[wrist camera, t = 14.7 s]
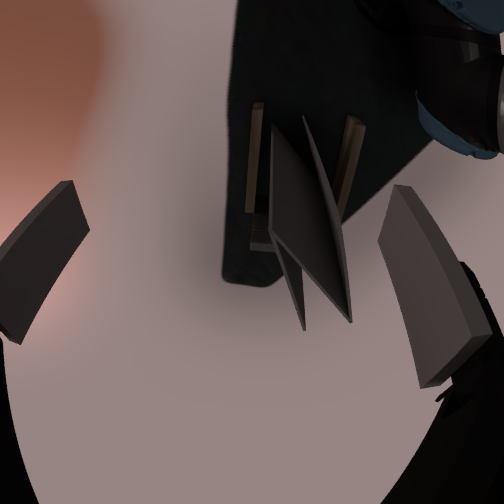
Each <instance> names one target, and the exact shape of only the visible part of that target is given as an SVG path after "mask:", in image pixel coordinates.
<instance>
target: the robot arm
mask: <svg viewBox="0 0 504 504" xmlns="http://www.w3.org/2000/svg"><path fill="white" fill-rule="evenodd" d="M354 2H355V4H356V6H357V7H358V9H359V10H360V12H361V13H362V14H363V15H364V17H365V18H366V19H367V20H368V21H370V22H371V23H372V24H373V25H375V26H376V27H378V28H379V29H381V30H383V31H385V32H387V33H390V34H393V35H397V36H404V37H411V39H412V46H413V54H414V62H415V72H416V83H417V90H416V93H415V94H416V99H417V102H418V112H419V120H420V122H421V124H422V126H423V128H424V130H425V131H426V132H427V133H428V134H429V135H430V136H431V137H432V138H433V139H435V140H436V141H438V142H439V143H441V144H442V145H444V146H446V147H448V148H449V149H451V150H453V151H456V152H458V153H460V154H463V155H466V156H468V155H472V156H473V157H475V158H478V159H483V160H486V159H487V160H488V159H492V158H494V157H496V156H497V155H498V153H499V152H500V153H502V154H504V55H502V53H501V45H500V35H499V34H500V33H502V32H504V0H354ZM89 231H90V229H89V226H88V224H87V221H86V218H85V215H84V213H83V210H82V207H81V204H80V201H79V198H78V195H77V192H76V189H75V186H74V183H73V180H70V181H61V182H60V183H59V184H57V185H56V186H55V187H54V188H53V189H52V190H51V191H50V192H49V193H48V194H47V195H46V196H45V197H44V198H43V199H42V200H41V201H40V202H39V203H38V204H37V205H36V206H35V207H34V208H33V209H32V210H31V212H30V213H29V214H28V215H27V216H26V217H25V218H24V219H23V220H22V221H21V222H20V224H19V225H18V226H17V227H16V228H15V229H14V230H13V232H12V233H11V234H10V235H9V236H8V238H7V239H6V240H5V241H4V242H3V244H2V245H1V246H0V331H1V332H2V333H3V334H4V335H5V336H6V337H7V338H8V339H9V340H10V341H12V342H14V343H17V344H19V345H21V344H22V341H23V339H24V337H25V335H26V333H27V331H28V329H29V327H30V325H31V324H32V322H33V320H34V318H35V316H36V314H37V312H38V311H39V309H40V307H41V305H42V304H43V302H44V300H45V298H46V297H47V295H48V293H49V291H50V290H51V288H52V286H53V285H54V283H55V282H56V280H57V278H58V277H59V275H60V273H61V272H62V270H63V269H64V267H65V266H66V264H67V263H68V261H69V260H70V258H71V257H72V255H73V254H74V252H75V251H76V249H77V248H78V246H79V245H80V244H81V242H82V241H83V239H84V238H85V236H86V235H87V234H88V232H89ZM378 243H379V246H380V249H381V252H382V255H383V257H384V260H385V263H386V266H387V268H388V271H389V274H390V277H391V280H392V283H393V286H394V289H395V292H396V295H397V299H398V302H399V305H400V309H401V312H402V315H403V319H404V323H405V326H406V330H407V333H408V337H409V341H410V345H411V348H412V353H413V357H414V361H415V366H416V371H417V375H418V380H419V384H420V389H422V388H429V387H434V386H440V385H441V384H442V383H443V382H445V381H446V380H447V379H448V378H449V377H450V376H451V379H452V383H453V385H451V386H450V387H449V388H448V389H447V390H445V391H444V392H443V393H442V394H440V395H439V396H438V398H437V399H436V400H435V401H436V402H439V401H440V400H441V399H443V398H444V397H445V398H444V400H443V402H442V404H441V406H440V408H439V410H438V412H437V415H436V417H435V419H434V421H433V422H432V425H431V426H430V428H429V430H428V432H427V434H426V436H425V437H424V439H423V441H422V443H421V445H420V446H419V448H418V450H417V451H416V453H415V455H414V456H413V458H412V459H411V461H410V463H409V464H408V466H407V467H406V469H405V470H404V472H403V473H402V475H401V476H400V478H399V479H398V481H397V482H396V483H395V485H394V486H393V488H392V489H391V490H390V492H389V493H388V495H387V496H386V497H385V499H384V500H383V501H382V502H381V504H504V336H503V334H502V332H501V329H500V327H499V325H498V322H497V320H496V317H495V315H494V313H493V311H492V309H491V306H490V304H489V302H488V300H487V298H485V294H484V292H483V290H482V288H480V284H479V282H478V280H477V278H476V276H475V274H474V273H473V272H472V270H471V269H470V268H469V267H468V266H467V265H466V264H465V263H464V262H459V261H458V259H457V257H456V255H455V254H454V252H453V250H452V249H451V247H450V245H449V243H448V242H447V240H446V238H445V237H444V235H443V233H442V232H441V230H440V228H439V227H438V225H437V224H436V222H435V221H434V219H433V218H432V216H431V215H430V213H429V212H428V210H427V209H426V207H425V206H424V204H423V203H422V201H421V200H420V198H419V197H418V196H417V194H416V193H415V191H414V190H413V189H412V187H409V186H402V185H394V187H393V191H392V194H391V198H390V202H389V205H388V209H387V212H386V216H385V219H384V222H383V226H382V229H381V232H380V235H379V238H378ZM0 504H39V503H38V500H37V498H36V495H35V493H34V490H33V488H32V485H31V482H30V480H29V477H28V474H27V471H26V468H25V465H24V462H23V459H22V455H21V452H20V448H19V445H18V441H17V437H16V433H15V428H14V424H13V420H12V415H11V409H10V404H9V398H8V391H7V384H6V375H5V367H4V354H3V342H2V339H1V338H0Z"/></svg>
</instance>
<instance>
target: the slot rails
mask: <svg viewBox="0 0 504 504" xmlns="http://www.w3.org/2000/svg"><path fill="white" fill-rule="evenodd" d="M263 108H264V103H262V102H255V103H254V106H253V109H252V121H251V134H250V148H249V162H248V176H247V191H246V205H245V212H250V213H254V206H255V197H256V186H257V175H258V164H259V153H260V142H261V131H262V119H263ZM365 129H366V126H365V125H364V124H363V123H362V122H361V121H360V120H359V119H358V118H357V117H355V116H351V115H347V121H346V126H345V131H344V135H343V140H342V145H341V150H340V154H339V159H338V163H337V168H336V172H335V176H334V181H333V185H332V189H331V190H332V193H333V197H334V200H335V203H336V206H337V209H338V212H339V215H340V221H341V220H342V217H343V213H344V210H345V206H346V203H347V199H348V196H349V192H350V189H351V185H352V181H353V177H354V174H355V170H356V166H357V162H358V158H359V154H360V150H361V146H362V142H363V137H364V133H365Z"/></svg>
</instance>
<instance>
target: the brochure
mask: <svg viewBox="0 0 504 504" xmlns="http://www.w3.org/2000/svg"><path fill="white" fill-rule="evenodd" d="M302 118H303V122H304V125H305V129H306V133H307V136H308V140H309V144H310V148H311V152H312V156H313V160H314V164H315V168H316V173H317V177H318V181H319V183H318V181H317V180H316V179H315V177H314V176H313V174H312V173H311V172H310V170H309V169H308V167H307V166H306V165H305V163H304V162H303V161H302V159H301V158H300V157H299V155H298V154H297V153H296V151H295V150H294V149H293V147H292V146H291V145H290V143H289V142H288V141H287V139H286V138H285V137H284V136H283V134H282V133H281V132H280V131H279V129H278V128H277V127H276V125H275V124H274V123H271V165H270V199H269V229H268V231H269V234H270V236H271V239H272V242H273V245H274V248H275V250H276V253H277V256H278V259H279V262H280V265H281V267H282V270H283V273H284V276H285V279H286V282H287V285H288V288H289V290H290V293H291V296H292V299H293V302H294V305H295V308H296V311H297V314H298V316H299V320H300V323H301V326H302V329H303V331H305V330H306V325H305V309H304V294H303V280H302V269H303V270H304V271H305V272H306V273H307V274H308V276H309V277H310V278H311V279H312V280H313V281H314V282H315V284H316V285H317V286H318V287H319V288H320V289H321V290H322V292H323V293H324V294H325V295H326V296H327V297H328V298H329V300H330V301H331V302H332V303H333V304H334V305H335V307H336V308H337V309H338V310H339V311H340V312H341V313H342V314H343V316H344V317H345V318H346V319H347V320H348V322H349V323H352V310H351V299H350V290H349V280H348V271H347V263H346V256H345V248H344V241H343V234H342V228H341V221H340V215H339V212H338V209H337V206H336V203H335V200H334V197H333V193H332V190H331V188H330V185H329V182H328V179H327V176H326V173H325V170H324V167H323V165H322V162H321V159H320V156H319V154H318V151H317V148H316V146H315V143H314V140H313V138H312V135H311V133H310V130H309V128H308V125H307V123H306V120H305V118H304V115H303V116H302Z"/></svg>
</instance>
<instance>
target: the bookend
mask: <svg viewBox="0 0 504 504" xmlns="http://www.w3.org/2000/svg"><path fill="white" fill-rule="evenodd" d="M269 199H270V197H267V196H256V197H255V206H254V215H253V224H252V233H251V242H250V250H257V251H267V252H276V250H275V248H274V245H273V242H272V239H271V236H270V234H269V231H268V229H269Z"/></svg>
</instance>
